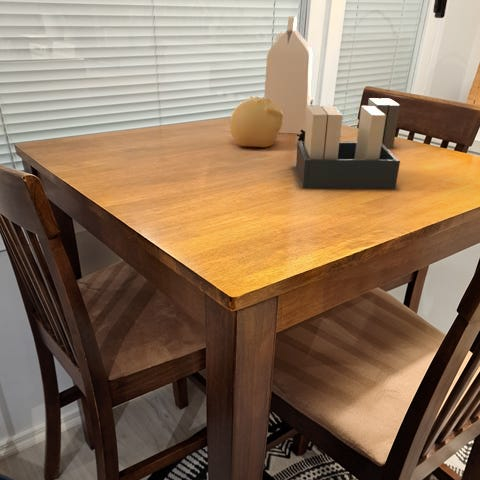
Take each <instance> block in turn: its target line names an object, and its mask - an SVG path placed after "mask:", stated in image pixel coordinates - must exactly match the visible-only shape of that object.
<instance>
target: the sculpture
mask: <svg viewBox="0 0 480 480" xmlns="http://www.w3.org/2000/svg"><path fill="white" fill-rule="evenodd" d="M282 119H283V114H282V111H281V110H280V109H279V108H278V107H276V105H274V104H273V103H272V102H271V101H270V99H268V98H265V97H264V96H263V97H259V96H250V97H249V98H248V99H246V100H243V101H241V102H240V103H238V104H237V105H236V106H235V108H234V109H233V111H232V113H231V115H230V122H229V129H230V134H231V137H232V139H233V141H234V143H235V144H236V145H238V146H241V147H248V148H249V147H251V148H269V147H271V146H272V145H273V144H274V143H275V141H276V140H277V139H278V135H279V134H280V133H279V130H280V129H281V126H282Z"/></svg>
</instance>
